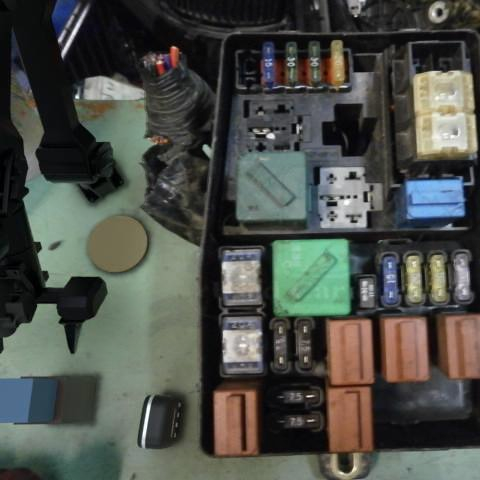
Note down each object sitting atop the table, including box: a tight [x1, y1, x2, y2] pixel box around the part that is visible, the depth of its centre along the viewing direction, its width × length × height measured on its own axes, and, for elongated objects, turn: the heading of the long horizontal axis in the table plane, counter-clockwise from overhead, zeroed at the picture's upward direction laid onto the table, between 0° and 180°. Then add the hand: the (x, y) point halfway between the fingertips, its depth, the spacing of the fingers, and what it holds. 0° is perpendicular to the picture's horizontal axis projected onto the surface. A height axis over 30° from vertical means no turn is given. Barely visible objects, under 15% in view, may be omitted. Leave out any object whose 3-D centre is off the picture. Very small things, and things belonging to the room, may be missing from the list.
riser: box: [12, 375, 97, 426], centre depth 75 cm, size 6×6×11 cm
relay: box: [0, 377, 58, 424], centre depth 67 cm, size 4×5×7 cm
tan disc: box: [86, 215, 149, 273], centre depth 87 cm, size 9×9×1 cm
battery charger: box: [136, 393, 184, 450], centre depth 75 cm, size 7×4×11 cm, turn 175°
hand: (37, 352), depth 69 cm, fingers open, 9 cm apart
